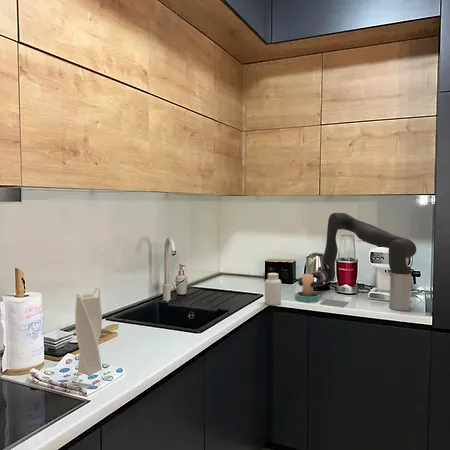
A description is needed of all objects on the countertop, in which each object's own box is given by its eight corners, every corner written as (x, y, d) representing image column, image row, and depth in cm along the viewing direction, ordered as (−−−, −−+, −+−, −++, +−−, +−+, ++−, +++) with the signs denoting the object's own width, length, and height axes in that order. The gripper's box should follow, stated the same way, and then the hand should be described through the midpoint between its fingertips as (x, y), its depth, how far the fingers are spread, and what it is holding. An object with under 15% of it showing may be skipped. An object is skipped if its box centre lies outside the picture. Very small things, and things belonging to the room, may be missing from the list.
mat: (349, 303, 217) (349, 301, 217) (343, 308, 207) (343, 307, 207) (326, 300, 223) (326, 298, 223) (319, 305, 213) (319, 304, 213)
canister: (314, 295, 223) (314, 274, 222) (310, 297, 218) (311, 276, 217) (304, 294, 226) (304, 273, 225) (300, 296, 221) (300, 275, 220)
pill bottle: (261, 303, 216) (261, 273, 215) (271, 300, 222) (272, 271, 221) (274, 306, 211) (274, 275, 210) (284, 303, 216) (284, 273, 215)
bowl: (322, 299, 224) (322, 293, 224) (314, 304, 214) (315, 298, 214) (300, 296, 230) (300, 290, 230) (292, 301, 220) (292, 295, 220)
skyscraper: (110, 377, 131) (108, 285, 129) (95, 388, 123) (93, 291, 121) (85, 374, 133) (83, 284, 131) (69, 385, 125) (67, 289, 123)
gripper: (303, 270, 237) (292, 275, 222) (329, 273, 230) (320, 278, 215) (303, 284, 238) (292, 290, 223) (329, 286, 230) (319, 293, 216)
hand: (306, 284), depth 219 cm, fingers closed on canister, 5 cm apart
